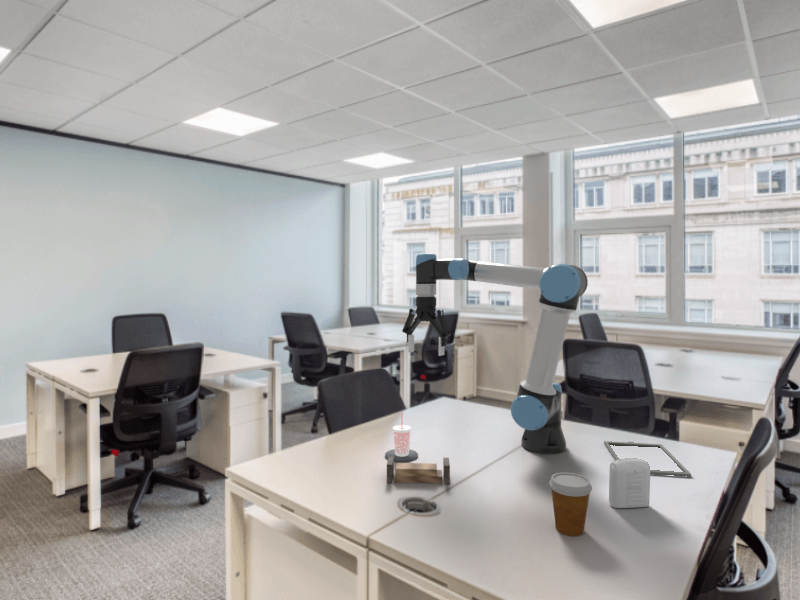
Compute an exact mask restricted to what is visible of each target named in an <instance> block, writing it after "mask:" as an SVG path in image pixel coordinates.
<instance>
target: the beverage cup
mask: <svg viewBox="0 0 800 600" xmlns="http://www.w3.org/2000/svg"><path fill="white" fill-rule="evenodd" d="M403 414H404V413H403V412H401V413H400V424H397V425H394V426H392V431H393V443H394V449H395V455H396V456H400V457H404V456H408V455H409V449H410V443H411V442H410V441H411V431H412V427H411V426H410V425H408V424H407V425H405V424H403V421H404V420H403Z"/></svg>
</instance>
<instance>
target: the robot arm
mask: <svg viewBox="0 0 800 600" xmlns="http://www.w3.org/2000/svg"><path fill="white" fill-rule="evenodd" d="M415 259H416V260H415V281H416V282H415V296H416V297H415V306H416V308H415V307H414V308H409V310H408V315H407V318H406V320H405V323H404V325H403V328H402V333H404V334H406V343H407V345H408V347H407V349H408V352H407V353H412V352H413V353H414V352H415V334H414V332H415V330H416V329H417V328H418V326H419V324H421V323H422V322H427V323H429V322H430V324H432V326H433V328H434V329H435V330H436V332H437V333H438V335H439V337H438V356H439V357H441V356H445V347H446V346H447V337H448V336H449V337H450V336H452V332H451V330H450V326H449V325H448V322H447V320H446V317H445V312H444V309H437V296H436V295H437V281H440V280H441V281H443V280H445V281H452V280H454V281H462V280H463V281H471V282H472V281H473V282H479V283H488V284H496V285H503V286H511V287H516V288H518V287H519V288H524V289H532V290H540V296H539V299H538V303H539V306H540V307H541V313H540V317H539V322H538V326H537V330H536V333H535V334H536V335H535V339H534V343H533V348H532V352H531V356H530V360H529V364H528V369H527V372H526V377H525V379H523V380H521V381H520V383H519V387H518V392H517V395H516V397H515V398H514V400H513V401H512V403H511V406H510V414H511V417H512V419H513V421H514V422H515V424H516V425H518V427H520V428H521V429H523V432H522V436H521V446H522V448H523V449H525V450H528V451H530V452H533V453H539V454H548V455H549V454H550V455H551V454H552V455H554V454H560V453H563V452H565V451H566V450H567V441H566V437H565V434H564V431H563V429H562V394H563V391H562V385H561V384H560V383H559V382H558V383H557V382H554V381H555V378H556V373H557V369H558V365H559V362H560V357H561V352H562V349H563V345H564V340H565V336H566V333H567V328H568V324H569V320H570V316H571V314H573V313H574V312H576V311H577V308H578V304H579V300H580V297H582V296H583V295H584V293H585V292H586V290H587V289H588V286H589V285H588V284H589V282H588V276H587V274H586V273H585V271H584V270H583V269H582V268H580V267H579V266H576V265H574V264H573V265H572V264H567V263H557V264H553V265H549V266H548V267H546V268H544V267H536V266H535V267H534V266H526V265H519V264H518V265H517V264H516V265H515V264H507V263H499V262H488V261H481V260H480V261H478V260H472V259H466V258H461V257H459V258H458V257H455V258H437V254H435V253H419V254H417V255H416V257H415ZM415 316H416V317H415Z"/></svg>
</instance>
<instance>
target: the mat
mask: <svg viewBox="0 0 800 600" xmlns="http://www.w3.org/2000/svg"><path fill="white" fill-rule="evenodd" d="M384 457H385V459H386V458H387V460H388V457H394V463H395V462H396V463H410V462H412V461H414V460H415V461H416V459H418V458H419V454H418V452H417V451H415V450H413V449H410V448H409V455H408V456H404V457H400V456H396V455H395V448H393V449H389V450H387V451H386V452H385V453H384Z"/></svg>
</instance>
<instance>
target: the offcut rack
mask: <svg viewBox="0 0 800 600" xmlns="http://www.w3.org/2000/svg"><path fill="white" fill-rule="evenodd" d="M442 459H443V461H442V462H443V463H442V464H443V465H442V466H443V469H438V467H437V463H426V462H425V463H423V462H422V463H421V462H420V463H418V462H415V463H414V462H396V465H395V462H394V457H388V459H387V461H386V484H393V483H403V484H404V483H406V484H408V483H409V484H411V483H413V484H414V483H415V484H444V485H451V479H450V478H451V462H450V459H449V457H442ZM394 467H395V468H394Z"/></svg>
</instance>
